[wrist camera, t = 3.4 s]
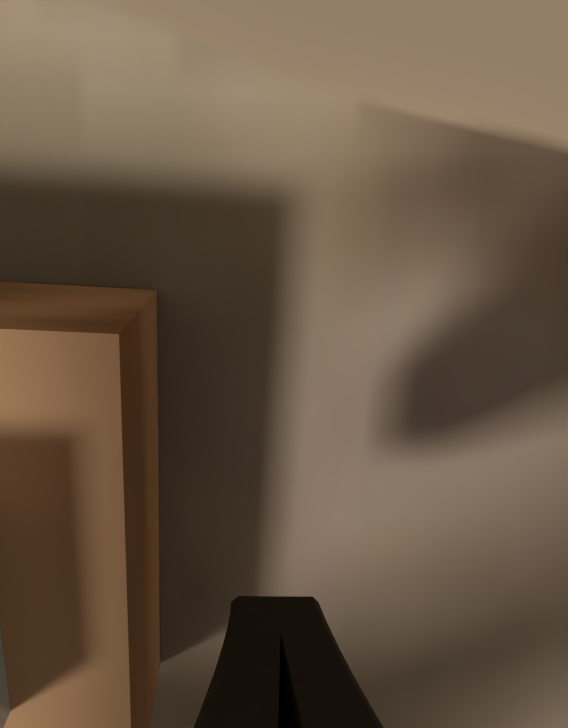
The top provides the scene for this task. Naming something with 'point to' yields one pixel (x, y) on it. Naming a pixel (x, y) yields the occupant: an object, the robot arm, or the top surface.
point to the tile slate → (3, 689)
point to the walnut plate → (79, 505)
